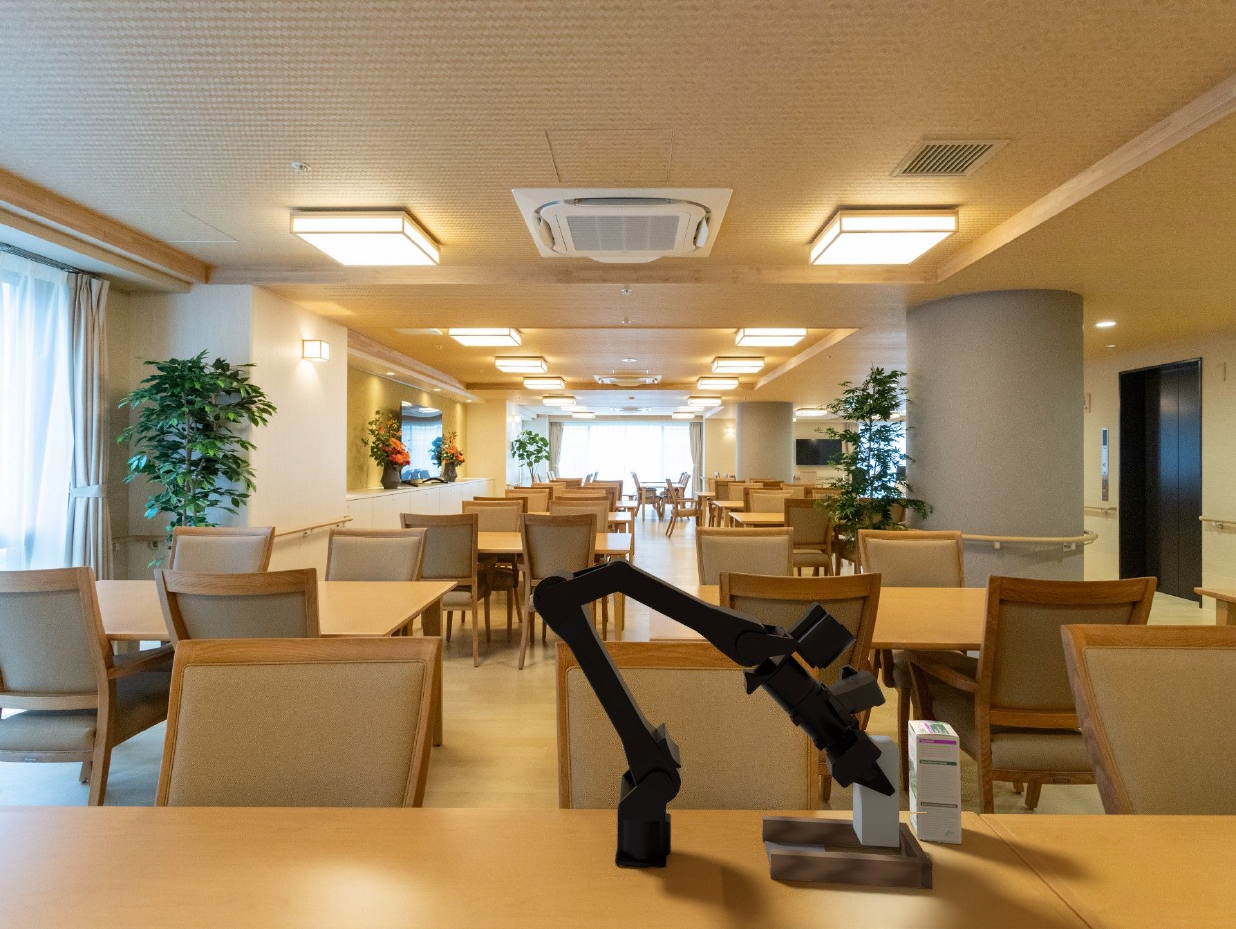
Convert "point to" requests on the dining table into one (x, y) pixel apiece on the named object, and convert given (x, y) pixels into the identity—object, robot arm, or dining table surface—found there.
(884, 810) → the slate block
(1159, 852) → the dining table surface
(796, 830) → the frame
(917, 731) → the syrup box
